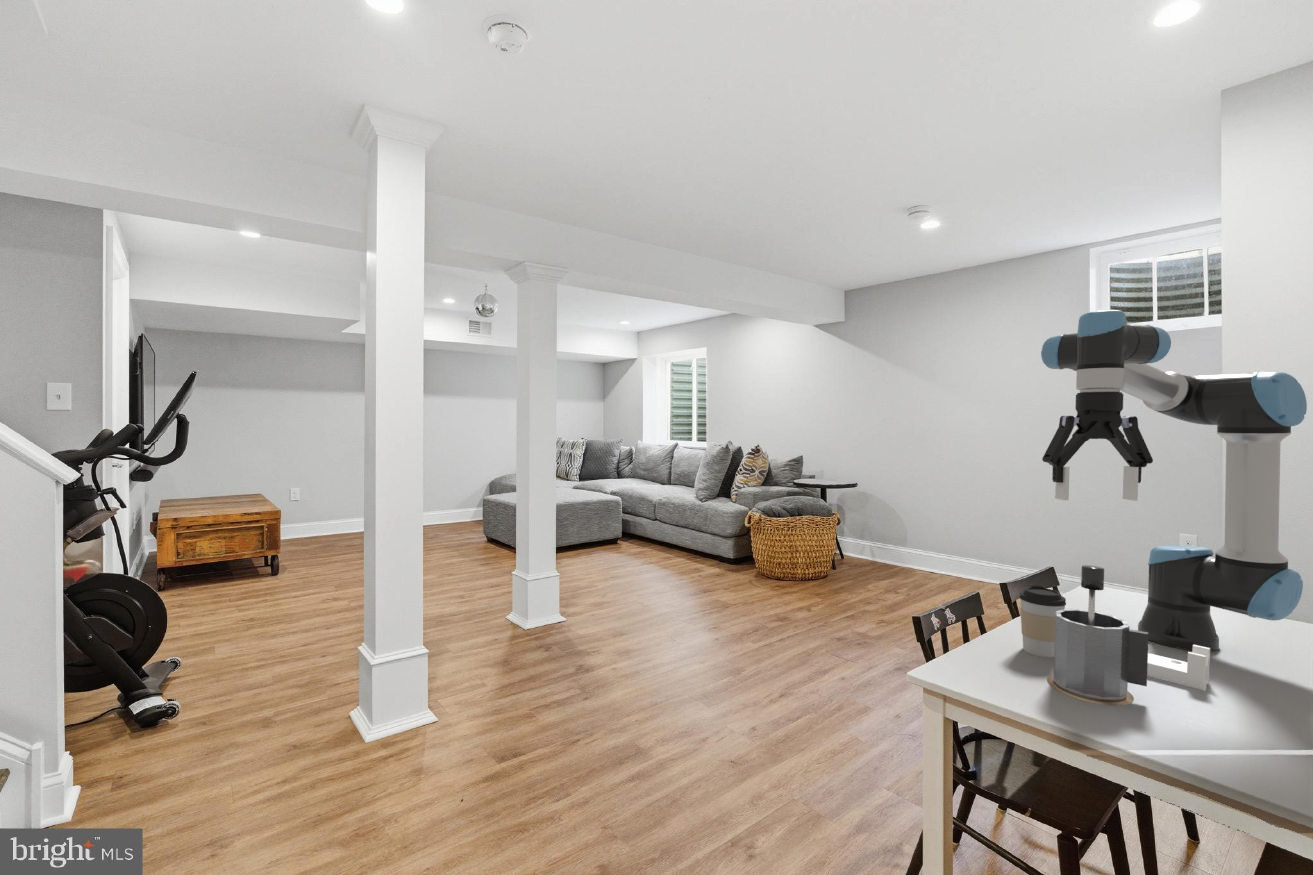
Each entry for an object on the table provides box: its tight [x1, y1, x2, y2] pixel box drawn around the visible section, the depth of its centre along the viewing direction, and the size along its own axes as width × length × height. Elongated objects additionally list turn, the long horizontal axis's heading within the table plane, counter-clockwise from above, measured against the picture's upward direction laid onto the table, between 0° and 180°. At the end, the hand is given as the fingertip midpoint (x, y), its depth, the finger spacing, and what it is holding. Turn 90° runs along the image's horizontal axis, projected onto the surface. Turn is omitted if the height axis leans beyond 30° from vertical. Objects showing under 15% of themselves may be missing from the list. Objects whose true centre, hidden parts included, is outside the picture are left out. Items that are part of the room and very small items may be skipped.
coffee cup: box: [1019, 585, 1067, 658], centre depth 138 cm, size 9×9×15 cm
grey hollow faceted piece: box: [1053, 608, 1149, 702], centre depth 119 cm, size 13×12×14 cm
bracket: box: [1147, 645, 1211, 692], centre depth 126 cm, size 13×7×8 cm, turn 41°
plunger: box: [1080, 564, 1105, 626], centre depth 119 cm, size 8×8×20 cm
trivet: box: [1046, 674, 1135, 706], centre depth 119 cm, size 14×14×1 cm
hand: (1095, 499), depth 118 cm, fingers open, 13 cm apart
